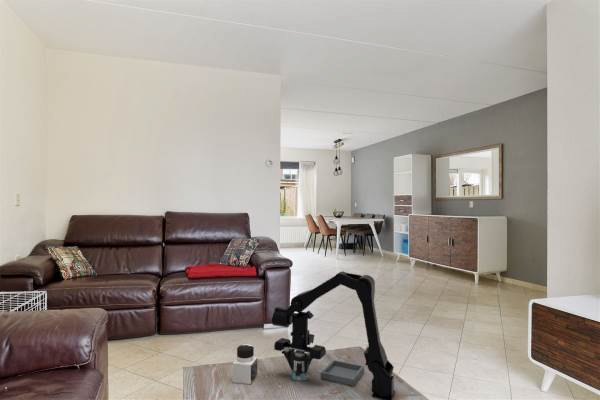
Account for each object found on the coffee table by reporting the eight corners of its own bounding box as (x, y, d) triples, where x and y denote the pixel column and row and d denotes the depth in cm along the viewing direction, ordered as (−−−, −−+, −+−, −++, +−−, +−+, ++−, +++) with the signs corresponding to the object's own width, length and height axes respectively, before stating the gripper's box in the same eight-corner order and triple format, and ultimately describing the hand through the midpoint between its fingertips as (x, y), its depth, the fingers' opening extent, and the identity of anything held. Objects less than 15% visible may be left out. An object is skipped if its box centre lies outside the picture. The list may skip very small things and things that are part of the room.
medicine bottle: (251, 384, 131) (251, 350, 131) (232, 382, 132) (232, 349, 133) (257, 375, 138) (257, 343, 138) (239, 373, 139) (239, 341, 140)
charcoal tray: (364, 372, 141) (364, 365, 141) (353, 386, 130) (353, 379, 130) (333, 365, 147) (333, 359, 147) (320, 379, 135) (320, 372, 136)
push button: (309, 375, 138) (310, 349, 138) (310, 383, 132) (311, 355, 132) (291, 375, 138) (292, 348, 138) (291, 382, 132) (292, 354, 132)
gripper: (331, 326, 139) (331, 368, 138) (288, 319, 147) (287, 358, 147) (320, 335, 129) (319, 380, 128) (273, 327, 137) (273, 369, 137)
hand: (299, 371), depth 135 cm, fingers closed on push button, 5 cm apart
